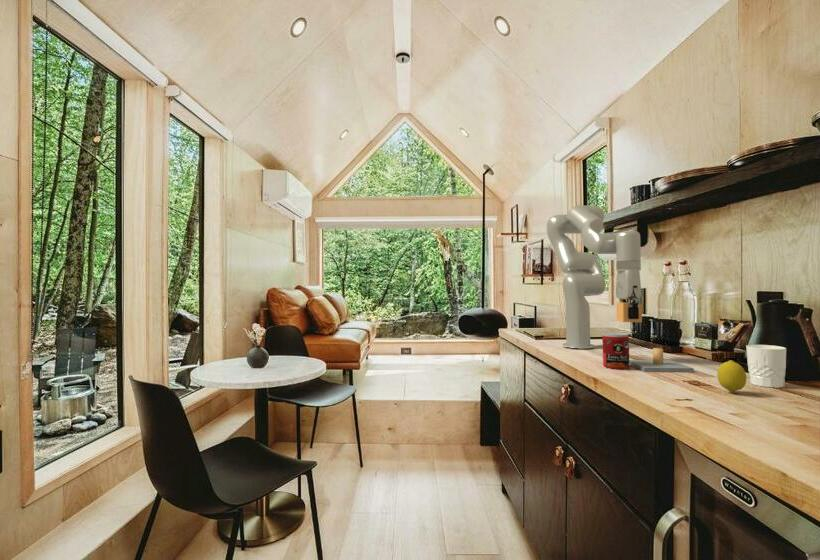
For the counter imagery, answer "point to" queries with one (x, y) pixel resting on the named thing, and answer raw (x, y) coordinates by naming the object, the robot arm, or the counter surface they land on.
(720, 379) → the lemon
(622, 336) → the canned food
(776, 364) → the white cup
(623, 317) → the tan block
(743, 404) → the counter surface
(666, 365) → the stub board
